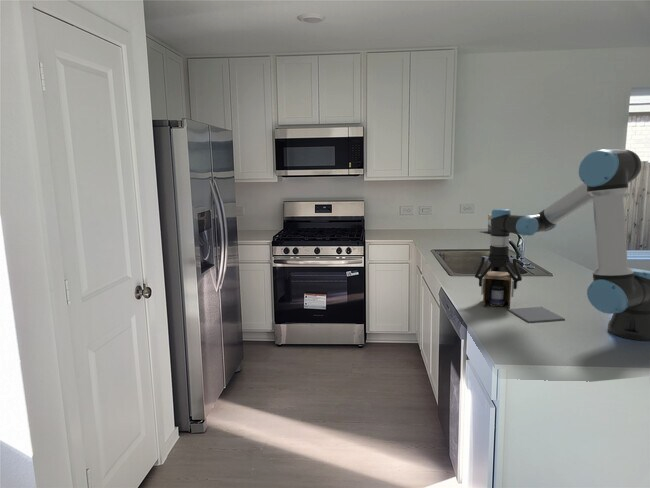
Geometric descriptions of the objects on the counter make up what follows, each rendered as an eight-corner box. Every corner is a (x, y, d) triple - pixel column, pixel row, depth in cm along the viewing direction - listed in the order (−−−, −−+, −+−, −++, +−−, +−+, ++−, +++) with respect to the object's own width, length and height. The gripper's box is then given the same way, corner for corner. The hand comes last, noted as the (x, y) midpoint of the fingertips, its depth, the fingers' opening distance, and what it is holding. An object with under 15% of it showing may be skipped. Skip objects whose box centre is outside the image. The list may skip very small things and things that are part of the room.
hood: (510, 301, 200) (511, 272, 198) (509, 309, 190) (511, 278, 188) (484, 299, 204) (485, 270, 202) (482, 306, 194) (484, 276, 192)
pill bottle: (492, 301, 201) (493, 277, 199) (506, 303, 198) (507, 279, 196) (487, 304, 197) (488, 280, 195) (501, 307, 193) (502, 282, 191)
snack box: (487, 231, 392) (487, 214, 389) (492, 231, 393) (493, 214, 391) (503, 235, 372) (504, 217, 369) (509, 234, 374) (510, 216, 371)
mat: (564, 320, 176) (564, 318, 176) (528, 322, 174) (528, 321, 174) (541, 308, 191) (541, 306, 191) (508, 310, 189) (508, 309, 189)
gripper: (529, 245, 191) (527, 294, 195) (470, 242, 200) (469, 290, 204) (530, 248, 185) (527, 299, 188) (469, 245, 194) (467, 294, 198)
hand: (497, 294), depth 196 cm, fingers open, 11 cm apart
